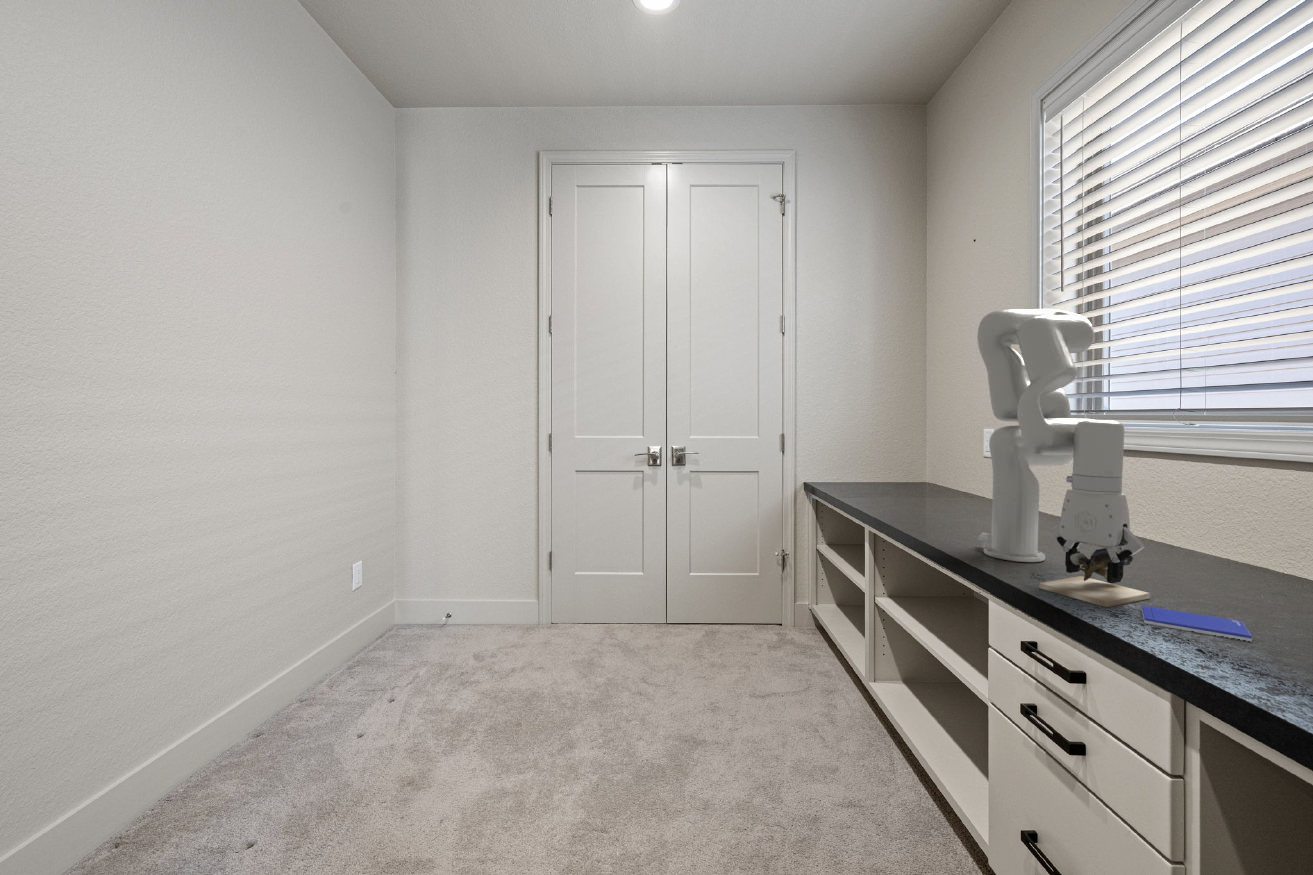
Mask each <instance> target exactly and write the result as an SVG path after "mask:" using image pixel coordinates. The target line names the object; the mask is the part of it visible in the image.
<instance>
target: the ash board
mask: <svg viewBox="0 0 1313 875" xmlns="http://www.w3.org/2000/svg"><path fill="white" fill-rule="evenodd" d="M1038 588H1039V589H1040V590H1041V589H1042V590H1045V591H1048V592H1052V593H1056V594H1058V595H1063V596H1065V597H1070V598H1072V599H1077V600H1079V601H1084V602H1086V603H1090V604H1094V605H1097V606H1101V607H1105V608H1109V607H1110V608H1111V607H1114V606H1116V607H1117V606H1119V605H1123V604H1129V603H1135V602H1140V601H1144V600H1148V599H1150V597H1151V593H1150V592H1147V591H1143V590H1139V589H1134V588H1130V587H1127V586H1123V585H1118V584H1116V583H1108V582H1107V581H1103V580H1098V579H1094V578H1089V579H1087V580H1086V581H1084V576H1082V575H1079V576H1074V577H1068V578H1061V579H1055V580H1048V581H1044V582H1039V583H1038Z"/></svg>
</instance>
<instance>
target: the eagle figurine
mask: <svg viewBox="0 0 1313 875" xmlns="http://www.w3.org/2000/svg"><path fill="white" fill-rule="evenodd" d="M1123 549H1124V550H1126V548H1123ZM1070 560H1071V561H1072V563H1073V564H1075V565H1080V568H1078V569H1079V570H1080V571H1082V572H1084V576H1083V577H1084V581H1086V580H1087V579H1089V578H1091V577H1092V576H1093V574H1097V575H1099V576H1102V577H1103V578H1104V579H1105V580H1107V564H1108V562H1110V561H1111V558H1110V556H1109V553H1108V551H1107V549H1106V547H1102V548H1098V549H1095V550H1094V551H1093V553H1091V555H1090V558H1088V557H1087V556H1086V555H1085V554H1084V553H1083V552H1080V553H1076V554H1073V555H1071V556H1070ZM1133 560H1134V558H1133V556H1132V557H1131V558H1129V559H1127V561H1125V562H1124V565H1123V567H1124V566H1129V565H1131V562H1133ZM1091 579H1092V578H1091Z"/></svg>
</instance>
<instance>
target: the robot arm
mask: <svg viewBox="0 0 1313 875" xmlns="http://www.w3.org/2000/svg"><path fill="white" fill-rule="evenodd" d="M977 328H978V329H977V344H978V345H977V347H978V350H979V353H980V355H981V358H982V360H983V363H984V366H985V369H986V373H987V381H988V388H989V396H990V403H991V409H992V413H993V415H994V416H995V418H996V419H998V420H999V421H1002V422H1011V423H1012V422H1013V423H1014V422H1015V423H1017V422H1018V423H1017V424H1018V425H1006V426H1002V427H999V428H997V429H995V430H994V431H993V432H992V433H991V435H990V438H989V441H988V442H989V443H988V445H989V453H990V458H991V464H992V465H991V466H992V501H991V502H992V503H991V504H992V505H991V506H992V507H991V533H987V532H981V533H980V535H979V536H978V537H977V540H978V541H979V542H985V543H986V546H985V547H984V548H983V553H984V554H985V555H987V556H989V557H992V558H995V559H999V560H1005V561H1009V562H1010V561H1012V562H1019V563H1039V562H1044V561H1045V560H1046V554H1045V553H1044V552H1042V551H1039V550H1038V548H1039V547H1038V542H1039V540H1038V539H1039V514H1040V513H1039V512H1040V511H1039V510H1040V508H1039V507H1040V483H1039V481H1038V479H1037V477H1036V475H1035V474H1034V472H1033V471H1032V470H1031V468H1030V467H1033V466H1036V467H1037V466H1040V467H1041V466H1043V467H1044V466H1047V467H1049V466H1052V467H1053V466H1064V465H1067V464H1068V463H1070V462H1071V460H1072V459H1073V460H1072V462H1073V463H1072V473H1071V475H1067V476H1066V478H1065V480H1066V483H1069V484H1071V488H1069V489H1068V488H1067V490H1066V492H1065V495H1064V500H1063V502H1062V509H1061V512H1060V513H1061V514H1060V522H1059V523H1057V524H1055V525H1053V527H1051V528H1050V529H1049V530H1050V533H1052V535H1053V536H1054V538H1055V539H1056V541H1057V542H1058V543H1059V544H1060V546H1061V548H1062V551H1063V552H1065V560H1064V562H1065V564H1064V565H1065V569H1066V570H1065V572H1066V573H1069V574H1072V573H1073V574H1074V573H1076V572H1077V573H1078V572H1080V571H1081V570H1079V569H1078V568H1081V565H1075V564H1073V563H1072V561H1071V560H1070V556H1071V555H1073V554H1076V553H1081V552H1080V551H1078V549H1079V547H1080V546H1081V544H1086V545H1090V546H1096V547H1100V548H1106V549H1107V551H1108V553H1109V556H1110V558H1111V561H1110V562H1108V564H1107V568H1106V569H1107V579H1106V582H1107V583H1111V584H1116V583H1117V584H1118V583H1121V581H1122V579H1123V577H1124V566H1125V565H1124V562H1125V561H1127V559H1129V558H1131V557H1133V556H1135V555H1136V554H1137V553H1139V552H1141V551H1142V550H1143V549H1145V544H1143V542H1142V541H1141V540H1140V539H1139V538H1138V537H1137V535H1135V534H1134V533H1133V532H1132V531H1131V526H1130V525H1131V523H1130V511H1129V505H1128V500H1127V496H1126V494H1125V493H1122V489H1123V467H1124V466H1123V465H1124V451H1125V450H1124V445H1125V427H1124V425H1123V423H1122V422H1120V421H1119V420H1104V419H1102V420H1101V419H1093V418H1092V419H1091V418H1072V412H1071V406H1070V401H1069V397H1068V394H1067V393H1066V391H1065V390H1064V389H1063V388H1064V387H1066V386H1068V385H1070V384H1072V382H1074V380H1075V379H1076V378H1077V375H1078V369H1077V367H1076V365H1075V362H1074V359H1073V356H1072V354H1079V353H1080V354H1081V353H1083V352H1085V351H1087V350H1088V349H1089V348H1091V346H1092V344H1093V342H1094V338H1095V331H1094V327H1093V325H1092V323H1091V322H1090V320H1089V319H1088V318H1087V317H1086V316H1083V315H1081V314H1078V313H1074V312H1070V311H1065V310H1061V309H1056V308H1054V309H1053V308H1033V309H1032V308H1029V309H1026V308H1025V309H1024V308H1013V309H1009V308H1008V309H999V310H995V311H992V312H989V313H987V314H986V315H984V316H983V317H982V319H981V321H980V322H979V325H978V327H977ZM1012 345H1018V346H1019V350H1020V352H1021V354H1019V352H1018V351H1016V350H1015V349H1014V348H1012ZM1127 545H1129V546H1128V547H1127V548H1123V546H1127ZM1124 549H1125V550H1124ZM1123 565H1124V566H1123Z"/></svg>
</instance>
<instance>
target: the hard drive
mask: <svg viewBox="0 0 1313 875" xmlns="http://www.w3.org/2000/svg"><path fill="white" fill-rule="evenodd" d="M1140 611H1141V614H1142V618H1143V624H1146V625H1147V624H1148V625H1154V626H1159V627H1165V628H1170V629H1171V628H1172V629H1174V630H1180V629H1181V631H1186V632H1187V631H1188V632H1191V631H1194V632H1193V633H1199V634H1204V635H1208V636H1209V635H1210V636H1214V635H1216V637H1220V636H1224V637H1223V638H1226V637H1228V638H1227V639H1231V638H1236V639H1235V640H1237V639H1240V640H1239V641H1243V640H1246V641H1245V642H1248V641H1250V643H1252V641H1253V638H1252V634H1251V632H1250V631H1249V629H1248V628H1247V627H1246V625H1245V624H1244V622H1243V621H1242V620H1237V619H1230V618H1224V617H1219V616H1218V617H1217V616H1214V615H1213V616H1212V615H1207V614H1199V613H1193V612H1186V611H1179V610H1174V609H1173V610H1172V609H1166V608H1162V607H1155V606H1148V605H1141V610H1140Z"/></svg>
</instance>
